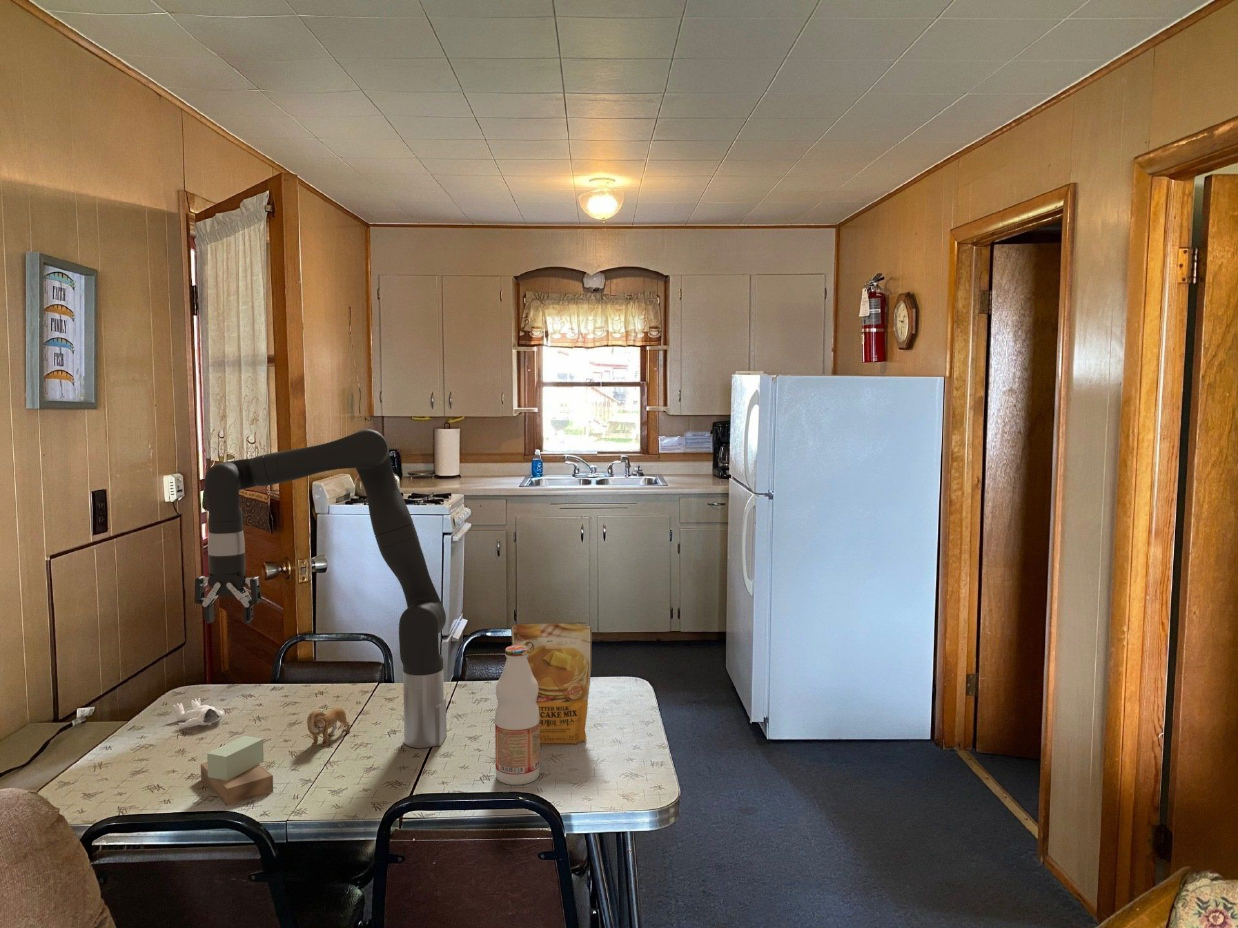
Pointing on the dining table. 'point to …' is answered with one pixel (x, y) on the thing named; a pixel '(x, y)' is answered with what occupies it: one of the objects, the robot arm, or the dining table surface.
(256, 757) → the sage brick
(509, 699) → the fruit juice
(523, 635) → the pancake mix bag
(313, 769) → the dining table surface
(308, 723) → the lion figurine
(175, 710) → the toy creature
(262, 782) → the walnut brick
